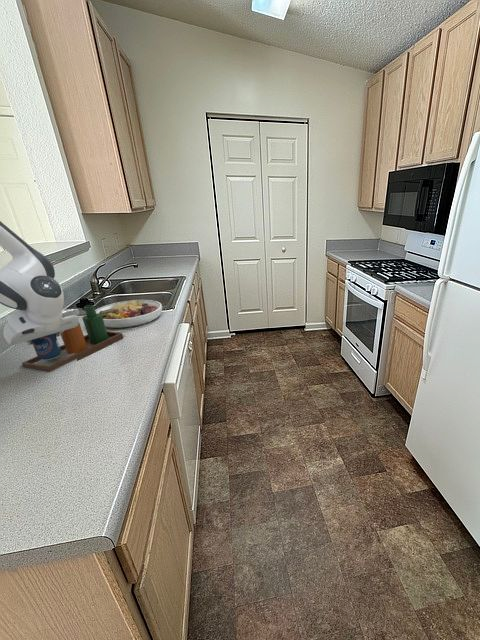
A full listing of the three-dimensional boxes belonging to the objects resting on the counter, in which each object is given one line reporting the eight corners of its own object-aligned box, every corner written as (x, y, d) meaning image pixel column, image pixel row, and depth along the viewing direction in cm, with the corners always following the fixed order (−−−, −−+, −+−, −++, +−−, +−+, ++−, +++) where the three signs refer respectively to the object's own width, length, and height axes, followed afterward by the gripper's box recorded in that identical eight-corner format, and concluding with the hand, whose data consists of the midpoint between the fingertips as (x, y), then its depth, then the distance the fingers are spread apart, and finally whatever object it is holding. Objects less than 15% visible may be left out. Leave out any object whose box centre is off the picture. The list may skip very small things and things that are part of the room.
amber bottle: (67, 357, 121) (52, 318, 115) (69, 350, 127) (55, 313, 120) (87, 353, 124) (74, 315, 117) (88, 347, 129) (76, 310, 123)
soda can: (36, 362, 112) (22, 329, 106) (41, 354, 117) (28, 322, 112) (60, 358, 114) (48, 325, 109) (64, 350, 120) (52, 319, 114)
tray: (50, 374, 110) (48, 367, 109) (24, 368, 114) (21, 362, 113) (123, 338, 137) (122, 333, 136) (100, 335, 141) (98, 329, 140)
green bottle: (90, 346, 130) (78, 309, 123) (91, 340, 135) (79, 305, 128) (109, 343, 133) (98, 307, 126) (109, 337, 138) (99, 302, 131)
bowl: (79, 326, 151) (73, 309, 147) (130, 306, 176) (127, 292, 172) (129, 334, 141) (125, 316, 138) (176, 312, 166) (173, 297, 163)
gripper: (74, 300, 111) (70, 322, 121) (-1, 317, 96) (1, 341, 106) (84, 315, 111) (80, 336, 120) (11, 335, 96) (12, 357, 106)
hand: (43, 338), depth 113 cm, fingers closed on soda can, 7 cm apart
